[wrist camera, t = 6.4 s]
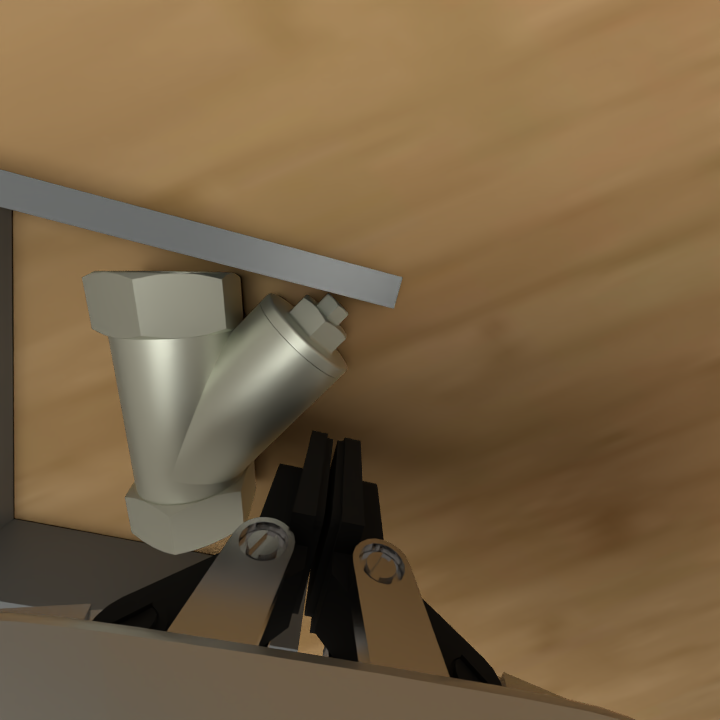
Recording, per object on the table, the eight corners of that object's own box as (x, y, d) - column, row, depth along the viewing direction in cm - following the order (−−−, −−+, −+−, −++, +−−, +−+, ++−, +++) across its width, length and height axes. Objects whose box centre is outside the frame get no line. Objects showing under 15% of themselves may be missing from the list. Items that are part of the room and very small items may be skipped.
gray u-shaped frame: (389, 275, 11) (402, 277, 8) (304, 587, 15) (293, 666, 12) (-17, 167, 10) (-165, 125, 7) (-8, 531, 13) (-107, 603, 11)
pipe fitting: (345, 273, 12) (142, 270, 11) (353, 276, 8) (49, 271, 7) (344, 472, 14) (173, 479, 13) (350, 547, 10) (113, 563, 9)
